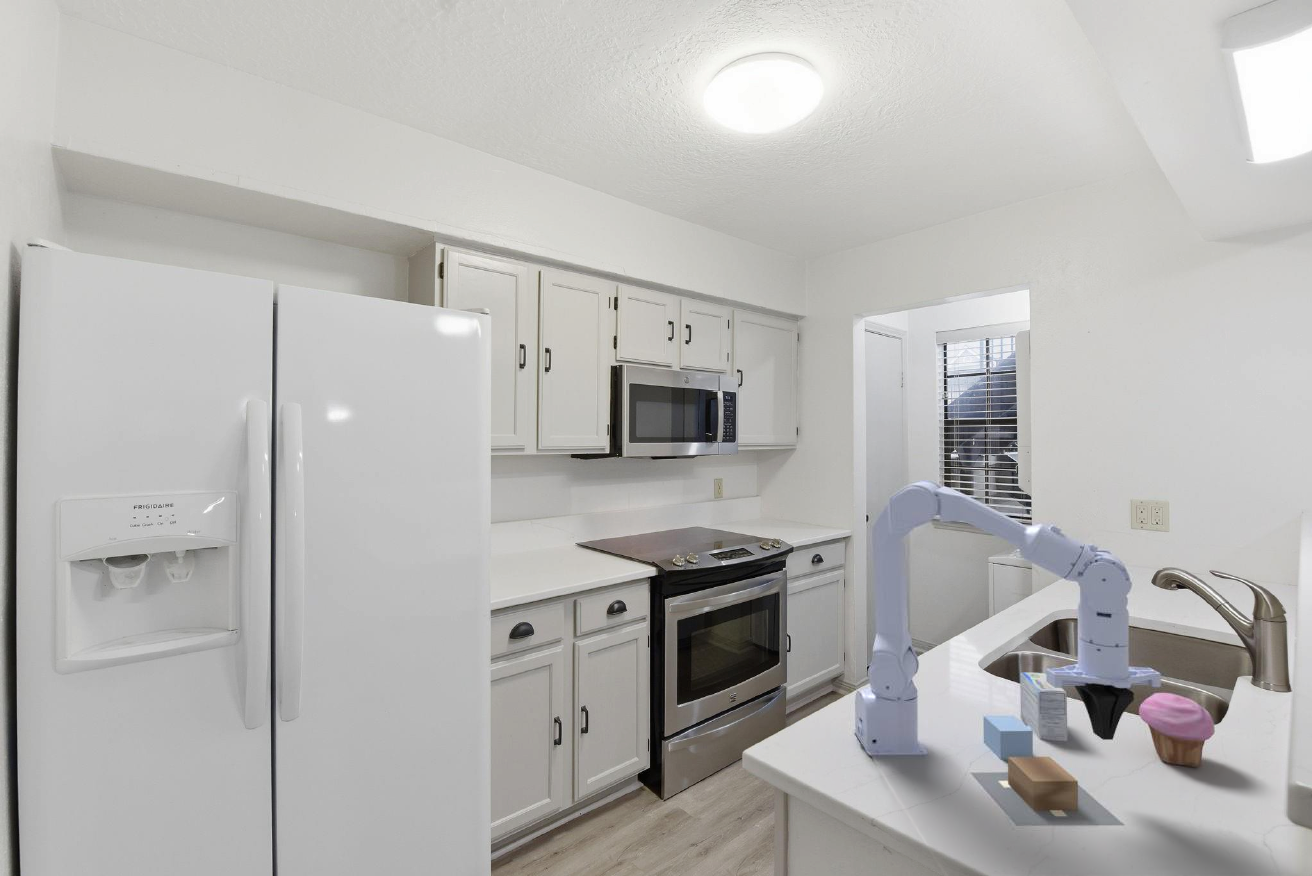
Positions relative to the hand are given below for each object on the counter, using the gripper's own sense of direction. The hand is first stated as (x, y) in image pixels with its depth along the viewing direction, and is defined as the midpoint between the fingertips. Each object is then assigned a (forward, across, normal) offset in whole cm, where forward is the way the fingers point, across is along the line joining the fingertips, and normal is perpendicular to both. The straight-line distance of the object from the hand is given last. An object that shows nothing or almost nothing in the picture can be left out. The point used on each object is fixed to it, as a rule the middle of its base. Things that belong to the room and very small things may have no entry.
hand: (1102, 736), depth 84 cm
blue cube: (+9, -6, +12) cm, 16 cm away
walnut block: (+9, -8, 0) cm, 12 cm away
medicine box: (+9, +4, +19) cm, 21 cm away
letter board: (+9, -8, 0) cm, 12 cm away
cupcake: (+9, +18, +10) cm, 23 cm away
